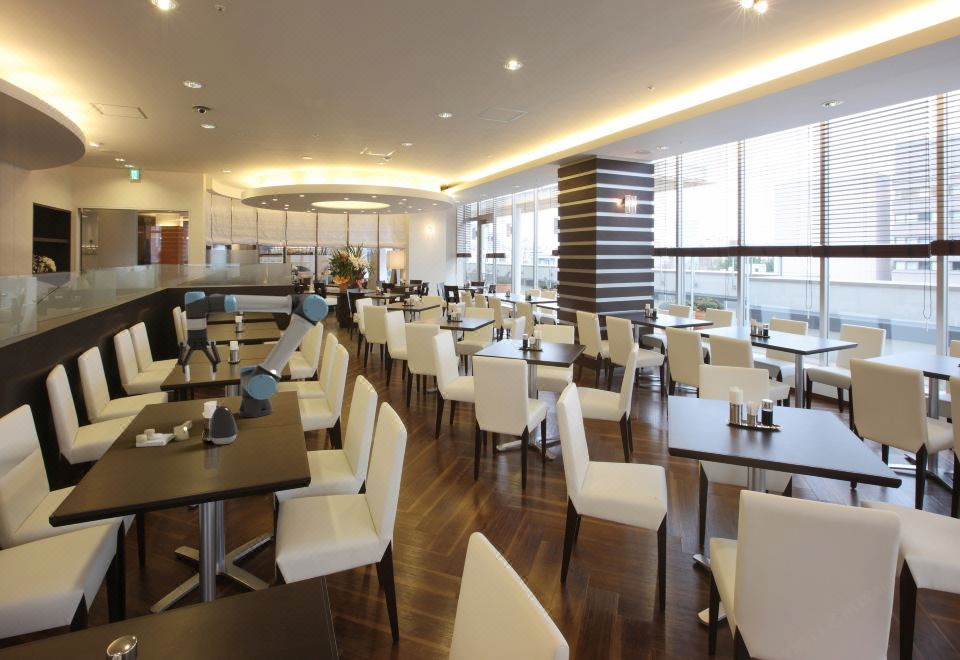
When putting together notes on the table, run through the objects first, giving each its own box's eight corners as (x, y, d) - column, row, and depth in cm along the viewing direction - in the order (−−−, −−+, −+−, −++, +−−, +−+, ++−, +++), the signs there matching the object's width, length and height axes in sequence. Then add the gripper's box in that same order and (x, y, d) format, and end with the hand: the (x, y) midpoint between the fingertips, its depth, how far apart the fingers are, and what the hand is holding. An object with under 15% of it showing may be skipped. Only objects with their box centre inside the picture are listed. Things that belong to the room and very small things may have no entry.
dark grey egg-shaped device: (232, 436, 224) (229, 401, 222) (242, 442, 216) (239, 405, 214) (206, 442, 217) (203, 405, 215) (215, 449, 209) (212, 411, 207)
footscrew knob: (185, 440, 218) (185, 428, 217) (172, 441, 217) (171, 429, 216) (196, 431, 229) (195, 419, 229) (184, 431, 229) (183, 420, 228)
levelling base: (177, 435, 226) (177, 425, 225) (163, 446, 212) (162, 436, 211) (151, 436, 224) (150, 426, 224) (135, 448, 210) (134, 437, 210)
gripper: (227, 326, 234) (230, 377, 237) (172, 327, 230) (176, 379, 233) (221, 329, 226) (225, 381, 229) (165, 330, 223) (169, 383, 226)
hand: (200, 380), depth 231 cm, fingers open, 9 cm apart
